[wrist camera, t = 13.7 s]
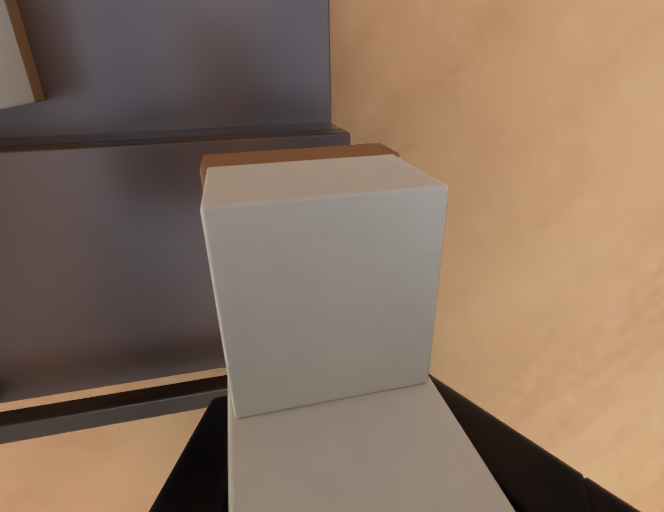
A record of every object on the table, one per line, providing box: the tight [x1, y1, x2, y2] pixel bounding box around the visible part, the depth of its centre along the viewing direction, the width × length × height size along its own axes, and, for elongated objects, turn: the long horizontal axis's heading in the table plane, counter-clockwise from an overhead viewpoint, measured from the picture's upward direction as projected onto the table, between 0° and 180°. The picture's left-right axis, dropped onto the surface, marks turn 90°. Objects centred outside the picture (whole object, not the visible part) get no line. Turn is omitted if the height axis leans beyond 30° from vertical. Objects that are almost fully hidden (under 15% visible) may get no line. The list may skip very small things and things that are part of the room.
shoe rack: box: [0, 0, 350, 444], centre depth 14 cm, size 15×19×6 cm
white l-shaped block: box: [200, 143, 515, 512], centre depth 6 cm, size 7×3×5 cm, turn 1°
